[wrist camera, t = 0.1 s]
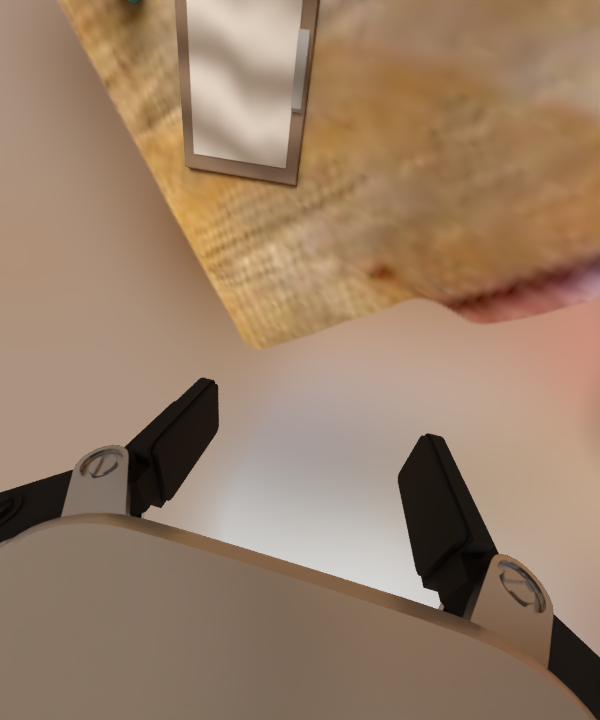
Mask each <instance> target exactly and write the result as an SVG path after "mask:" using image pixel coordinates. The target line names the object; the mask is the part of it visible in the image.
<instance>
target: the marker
mask: <svg viewBox="0 0 600 720" xmlns="http://www.w3.org/2000/svg"><path fill="white" fill-rule="evenodd" d="M127 1H128V2H130V3H133V4H135V3H137V2H139V0H127Z"/></svg>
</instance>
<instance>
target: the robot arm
mask: <svg viewBox="0 0 600 720" xmlns="http://www.w3.org/2000/svg"><path fill="white" fill-rule="evenodd" d="M218 413H219V412H218V385H217V384H215V381H214V380H210V379H206V378H200V379H199V380H198V381H197V382H196V383H195V384H194V385H193V386H191V388H189V389H188V390H187V391H186V392H185V393H184V394H183V395H182V396H181V397H180V398H179V399H178V400H177V401H174V402H173V403H172V404H170V405H169V406H168V407H167V408H166V409H165V410H164V411H163V412H162V413H161V414H160V415H159V416H157V417H156V418H155V419H154V420H153V421H152V422H151V423H150V424H149V425H148V426H147V427H146V428H145V429H143V430H142V431H141V432H140V433H139V434H138V435H137V436H136V437H135V438H134V439H133V440H132V441H131V442H130V443H129V444H127V445H126V446H125V447H122V446H119V445H110V446H104V447H101V448H98V449H95V450H94V451H92V452H90V453H88V454H87V455H85V456H84V457H83V458H81V459H80V461H79V462H78V463H77V464H76V466H75V468H74V470H70V471H67V472H64V473H61V474H58V475H54V476H51V477H48V478H46V479H42V480H39V481H36V482H32V483H29V484H26V485H23V486H20V487H16V488H14V489H10V490H7V491H4V492H1V493H0V720H600V657H599V656H598V655H597V654H595V653H594V652H593V651H592V650H591V649H590V648H589V647H588V646H587V645H586V644H585V643H584V642H583V641H582V640H580V638H578V637H577V636H576V635H575V634H574V633H573V632H572V631H571V630H570V629H569V628H568V627H567V626H566V625H565V624H564V623H563V622H561V621H560V620H559V619H558V618H557V617H556V616H555V615H554V613H553V605H552V602H551V600H550V597H549V595H548V593H547V592H546V590H545V588H544V587H543V585H542V584H541V582H540V581H539V580H538V579H537V578H536V576H535V575H534V574H533V573H532V572H531V571H530V570H528V568H527V567H525V566H524V565H523V564H522V563H520V562H519V561H517V560H516V559H514V558H512V557H510V556H508V555H503V554H499V553H498V551H497V549H496V547H495V545H494V542H493V541H492V538H491V536H490V534H489V532H488V530H487V528H486V526H485V524H484V522H483V520H482V517H481V515H480V513H479V511H478V509H477V507H476V505H475V503H474V501H473V499H472V496H471V494H470V492H469V490H468V488H467V486H466V484H465V482H464V480H463V478H462V476H461V474H460V471H459V469H458V467H457V465H456V463H455V461H454V459H453V457H452V455H451V453H450V450H449V448H448V446H447V444H446V442H445V440H444V439H443V437H441V436H437V435H433V434H426V435H425V436H421V437H420V438H419V440H418V442H417V444H416V445H415V447H414V449H413V450H412V452H411V454H410V456H409V457H408V459H407V461H406V462H405V464H404V466H403V467H402V469H401V471H400V473H399V475H398V484H399V490H400V494H401V499H402V504H403V509H404V514H405V519H406V524H407V529H408V534H409V538H410V543H411V548H412V553H413V558H414V563H415V567H416V571H417V574H418V575H419V576H421V578H422V583H423V587H424V588H427V589H431V590H433V591H437V592H438V594H439V598H440V602H441V604H440V606H439V608H438V609H435V608H433V607H430V606H427V605H424V604H421V603H418V602H414V601H412V600H408V599H406V598H403V597H399V596H396V595H393V594H390V593H387V592H383V591H380V590H377V589H374V588H371V587H368V586H365V585H361V584H358V583H355V582H352V581H349V580H345V579H342V578H339V577H336V576H333V575H330V574H326V573H323V572H320V571H316V570H313V569H310V568H307V567H303V566H300V565H297V564H294V563H290V562H287V561H284V560H281V559H278V558H274V557H271V556H268V555H265V554H261V553H258V552H255V551H252V550H248V549H245V548H242V547H239V546H235V545H232V544H229V543H225V542H222V541H219V540H215V539H212V538H209V537H206V536H202V535H199V534H196V533H192V532H189V531H186V530H182V529H179V528H175V527H171V526H168V525H164V524H161V523H157V522H154V521H150V520H146V519H144V512H146V511H147V509H148V508H149V507H150V505H153V506H156V507H159V508H161V507H162V506H163V505H164V503H165V502H166V500H168V501H169V500H171V499H172V498H173V496H174V495H175V493H176V492H177V491H178V489H179V488H180V486H181V484H182V483H183V482H184V480H185V479H186V477H187V476H188V474H189V473H190V471H191V470H192V468H193V467H194V465H195V464H196V462H197V461H198V460H199V458H200V456H201V455H202V454H203V452H204V451H205V449H206V448H207V446H208V445H209V443H210V442H211V440H212V439H213V437H214V436H215V434H216V433H217V431H218V427H219V414H218Z"/></svg>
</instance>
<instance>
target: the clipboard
mask: <svg viewBox="0 0 600 720" xmlns="http://www.w3.org/2000/svg"><path fill="white" fill-rule="evenodd" d="M319 1H320V0H175V10H176V26H177V41H178V57H179V72H180V88H181V103H182V119H183V135H184V150H185V166H186V167H188V168H192V169H198V170H204V171H210V172H216V173H222V174H228V175H234V176H240V177H246V178H252V179H257V180H263V181H269V182H275V183H281V184H287V185H293V186H297V179H298V170H299V162H300V154H301V146H302V138H303V130H304V122H305V114H306V106H307V98H308V90H309V82H310V73H311V65H312V57H313V49H314V41H315V33H316V25H317V17H318V9H319Z"/></svg>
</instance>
